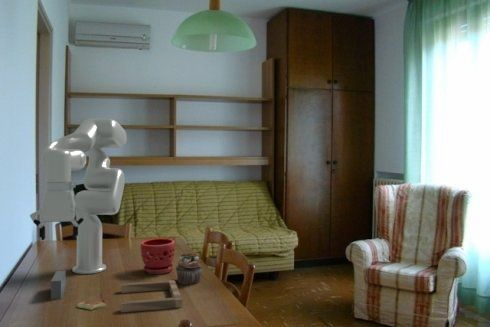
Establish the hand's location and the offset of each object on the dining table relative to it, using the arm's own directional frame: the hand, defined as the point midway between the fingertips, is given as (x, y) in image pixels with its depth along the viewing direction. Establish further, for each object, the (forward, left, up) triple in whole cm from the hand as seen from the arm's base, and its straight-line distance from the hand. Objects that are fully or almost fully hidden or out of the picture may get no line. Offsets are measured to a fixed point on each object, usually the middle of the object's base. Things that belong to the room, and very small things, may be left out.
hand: (59, 238), depth 146 cm
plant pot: (-19, +34, -19) cm, 43 cm away
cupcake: (-3, +44, -19) cm, 48 cm away
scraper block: (0, 0, -18) cm, 18 cm away
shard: (+13, +11, -19) cm, 25 cm away
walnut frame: (+13, +28, -18) cm, 36 cm away
